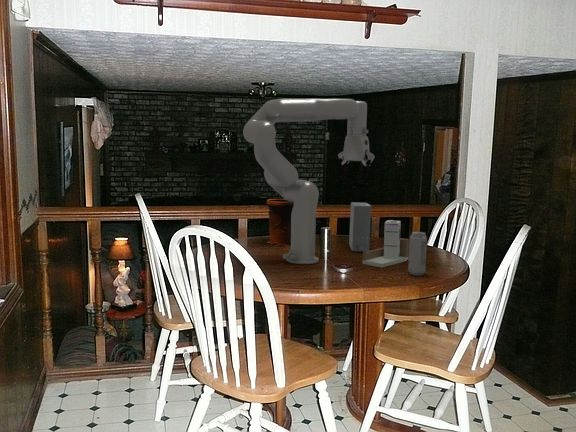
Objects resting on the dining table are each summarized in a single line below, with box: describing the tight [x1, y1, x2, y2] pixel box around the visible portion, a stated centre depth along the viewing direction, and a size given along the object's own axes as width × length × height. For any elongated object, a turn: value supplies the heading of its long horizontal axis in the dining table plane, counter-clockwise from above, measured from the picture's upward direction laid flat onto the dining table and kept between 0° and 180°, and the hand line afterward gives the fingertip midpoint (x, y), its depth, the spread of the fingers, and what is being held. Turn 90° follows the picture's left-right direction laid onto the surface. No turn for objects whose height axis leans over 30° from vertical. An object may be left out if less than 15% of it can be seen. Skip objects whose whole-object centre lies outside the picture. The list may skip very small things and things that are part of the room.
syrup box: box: [383, 219, 402, 259], centre depth 219 cm, size 6×6×14 cm
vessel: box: [266, 198, 294, 246], centre depth 253 cm, size 14×14×20 cm
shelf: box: [361, 237, 410, 268], centre depth 217 cm, size 19×9×8 cm, turn 137°
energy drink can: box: [407, 231, 428, 276], centre depth 198 cm, size 6×6×15 cm
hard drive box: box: [348, 201, 372, 252], centre depth 243 cm, size 16×8×20 cm, turn 179°
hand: (355, 175), depth 223 cm, fingers open, 9 cm apart
